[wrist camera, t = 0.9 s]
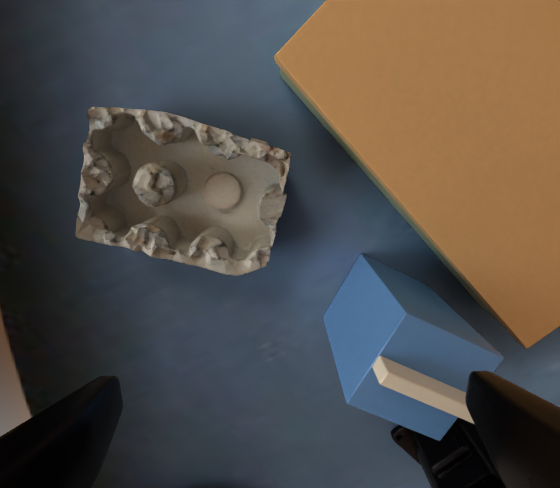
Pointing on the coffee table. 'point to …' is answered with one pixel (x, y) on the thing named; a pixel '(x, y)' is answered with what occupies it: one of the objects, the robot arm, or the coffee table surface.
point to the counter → (452, 133)
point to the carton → (403, 349)
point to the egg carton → (180, 190)
